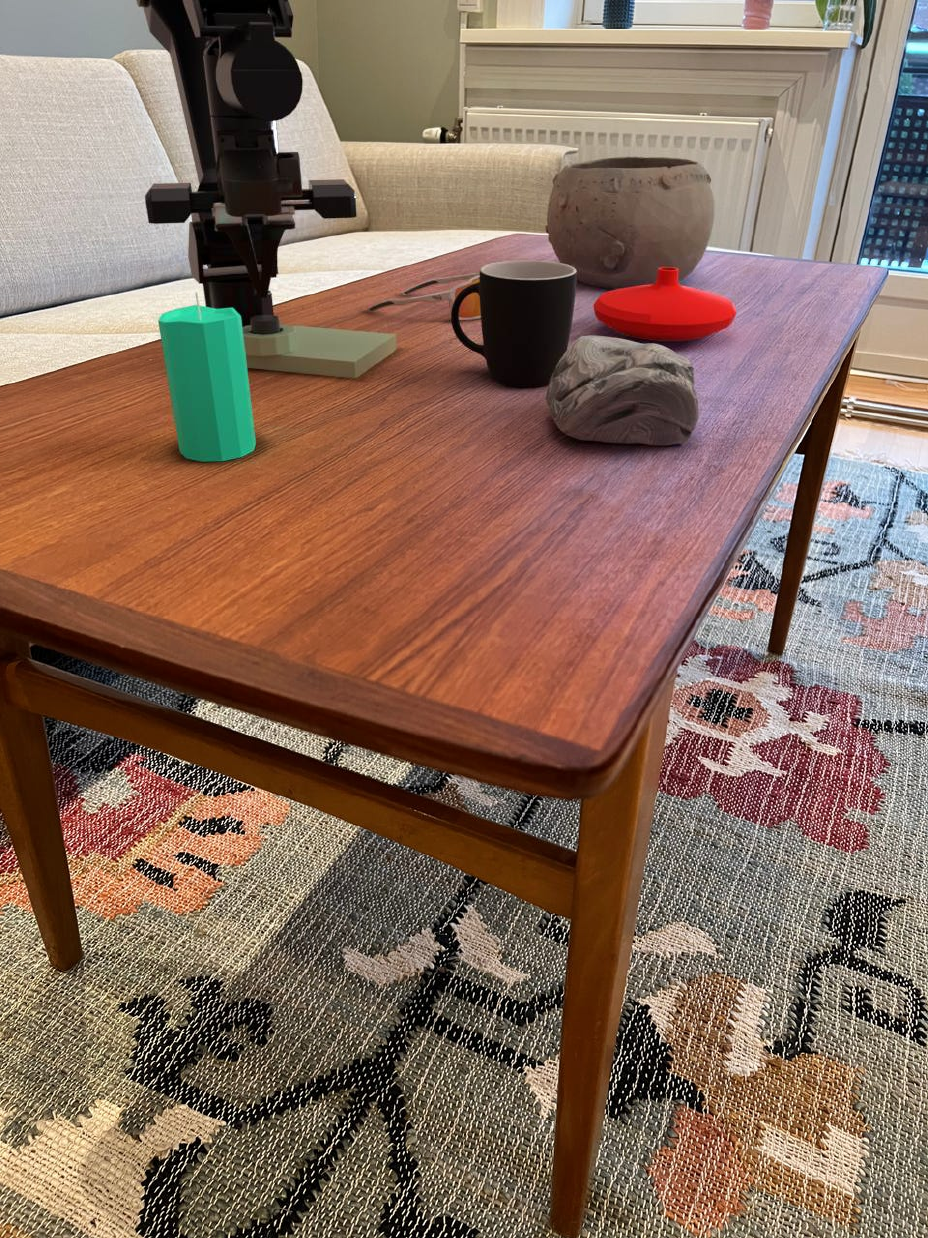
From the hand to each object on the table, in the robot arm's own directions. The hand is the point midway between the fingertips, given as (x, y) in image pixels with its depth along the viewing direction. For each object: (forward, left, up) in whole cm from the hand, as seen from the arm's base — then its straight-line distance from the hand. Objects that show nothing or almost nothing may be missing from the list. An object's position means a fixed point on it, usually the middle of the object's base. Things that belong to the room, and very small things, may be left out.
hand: (262, 297), depth 91 cm
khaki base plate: (+4, +4, -7) cm, 9 cm away
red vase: (+36, +25, -7) cm, 44 cm away
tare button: (0, 0, -4) cm, 4 cm away
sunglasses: (+8, +29, -7) cm, 31 cm away
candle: (+7, -22, -7) cm, 24 cm away
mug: (+24, +4, -7) cm, 25 cm away
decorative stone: (+37, -7, -7) cm, 38 cm away
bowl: (+27, +55, -7) cm, 62 cm away
